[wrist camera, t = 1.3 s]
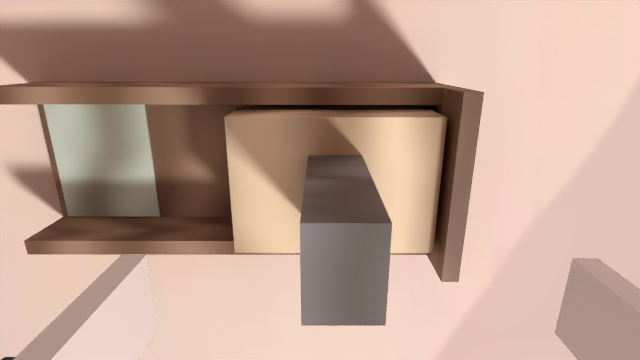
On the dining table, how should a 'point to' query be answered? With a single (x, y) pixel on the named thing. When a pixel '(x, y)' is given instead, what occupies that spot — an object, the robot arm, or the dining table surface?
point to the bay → (203, 160)
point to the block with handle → (336, 196)
